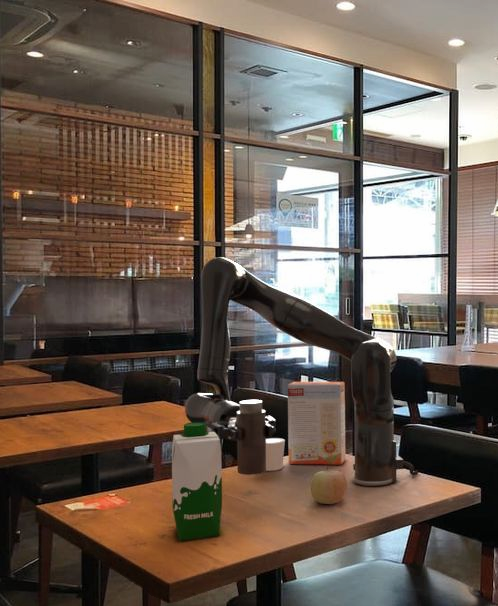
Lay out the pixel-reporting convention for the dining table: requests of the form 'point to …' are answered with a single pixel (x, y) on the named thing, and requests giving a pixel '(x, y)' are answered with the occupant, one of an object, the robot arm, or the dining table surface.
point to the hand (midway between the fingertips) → (255, 433)
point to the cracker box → (316, 423)
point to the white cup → (274, 453)
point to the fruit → (328, 486)
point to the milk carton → (196, 482)
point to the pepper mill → (251, 438)
